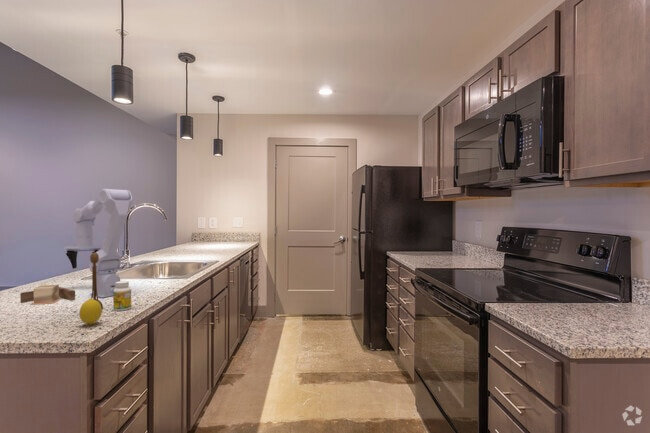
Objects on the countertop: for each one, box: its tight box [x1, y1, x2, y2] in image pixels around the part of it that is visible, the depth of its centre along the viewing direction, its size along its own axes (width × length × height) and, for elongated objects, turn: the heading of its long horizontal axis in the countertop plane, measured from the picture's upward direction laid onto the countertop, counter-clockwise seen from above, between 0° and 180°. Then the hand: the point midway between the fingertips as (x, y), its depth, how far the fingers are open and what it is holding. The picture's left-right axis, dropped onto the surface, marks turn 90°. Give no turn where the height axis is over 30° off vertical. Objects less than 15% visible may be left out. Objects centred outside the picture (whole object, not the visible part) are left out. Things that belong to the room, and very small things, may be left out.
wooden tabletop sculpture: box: [89, 252, 104, 310], centre depth 117 cm, size 6×5×20 cm
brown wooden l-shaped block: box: [19, 286, 76, 304], centre depth 126 cm, size 13×12×4 cm
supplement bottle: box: [112, 280, 132, 312], centre depth 117 cm, size 5×5×10 cm
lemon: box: [79, 298, 103, 326], centre depth 101 cm, size 6×6×8 cm
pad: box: [29, 297, 63, 306], centre depth 126 cm, size 7×7×1 cm
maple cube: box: [33, 284, 60, 304], centre depth 126 cm, size 6×6×6 cm
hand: (84, 267), depth 144 cm, fingers open, 7 cm apart
